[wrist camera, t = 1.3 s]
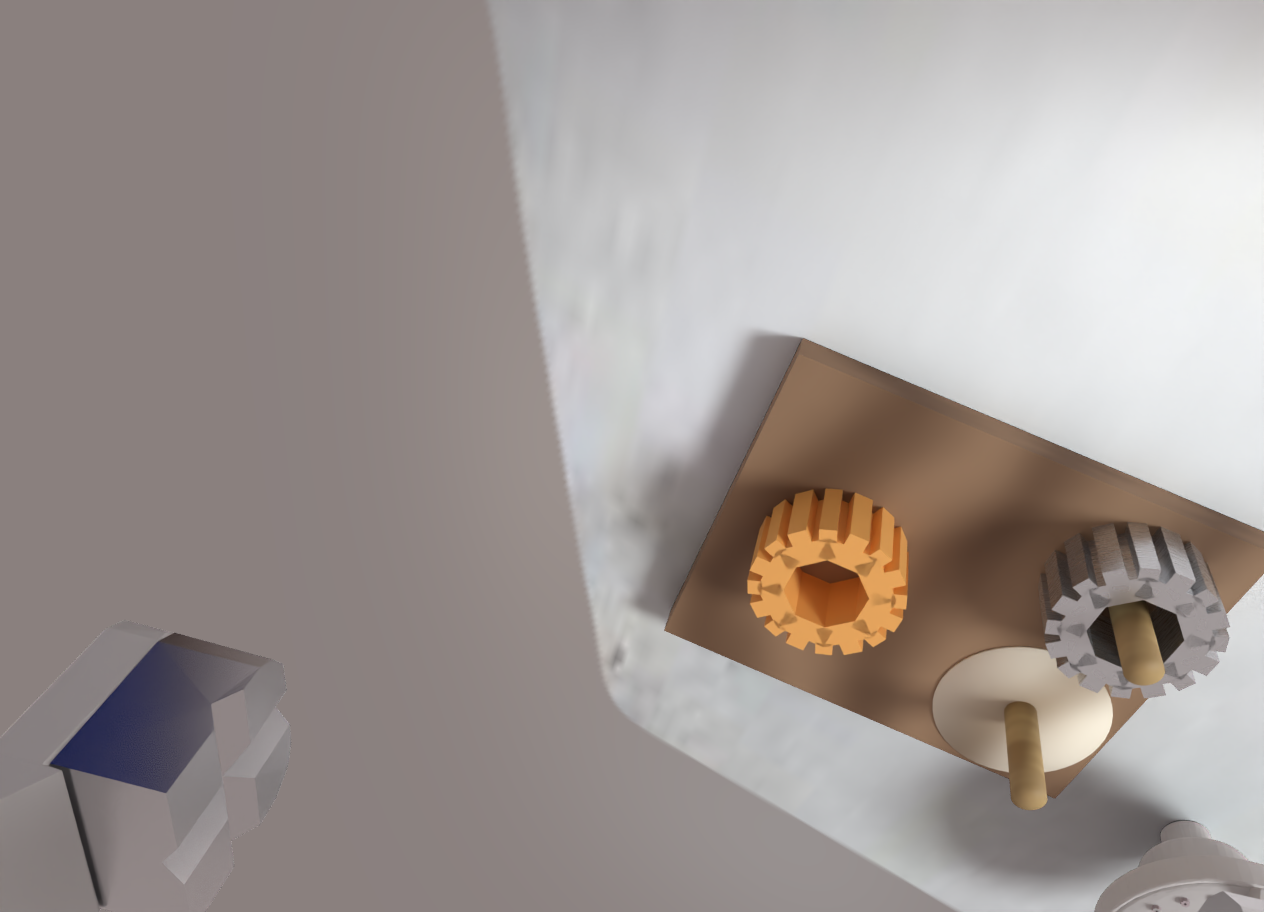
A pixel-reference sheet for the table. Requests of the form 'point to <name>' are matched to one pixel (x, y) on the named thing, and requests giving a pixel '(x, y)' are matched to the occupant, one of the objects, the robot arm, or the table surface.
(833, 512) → the gear
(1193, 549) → the gear
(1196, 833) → the showerhead
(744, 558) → the gear board
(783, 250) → the table surface
